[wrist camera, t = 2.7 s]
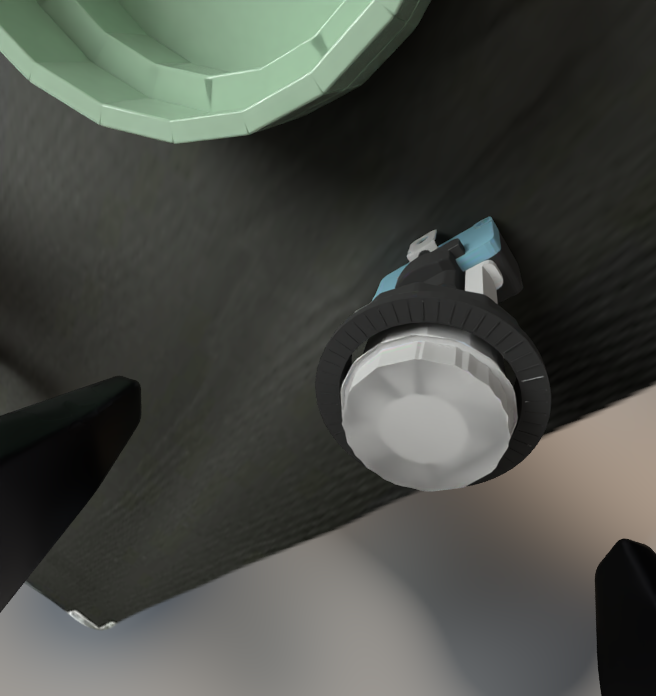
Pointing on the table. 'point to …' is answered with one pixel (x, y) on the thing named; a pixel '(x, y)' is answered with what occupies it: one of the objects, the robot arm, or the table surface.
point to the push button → (438, 369)
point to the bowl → (201, 58)
